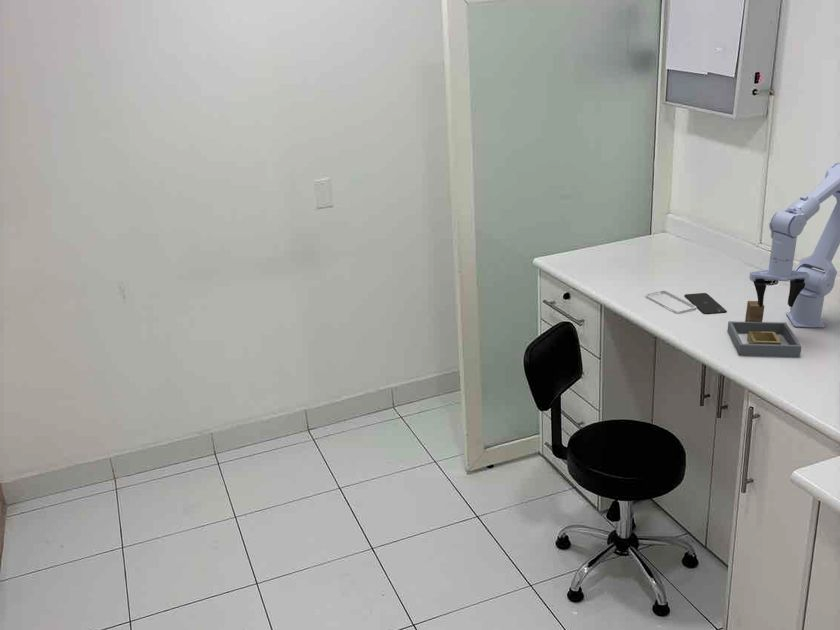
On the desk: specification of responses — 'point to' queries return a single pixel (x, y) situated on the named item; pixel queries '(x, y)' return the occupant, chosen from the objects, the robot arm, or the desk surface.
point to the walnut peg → (754, 312)
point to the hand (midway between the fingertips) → (775, 305)
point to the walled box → (764, 349)
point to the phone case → (674, 298)
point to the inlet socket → (763, 338)
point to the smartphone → (705, 303)
